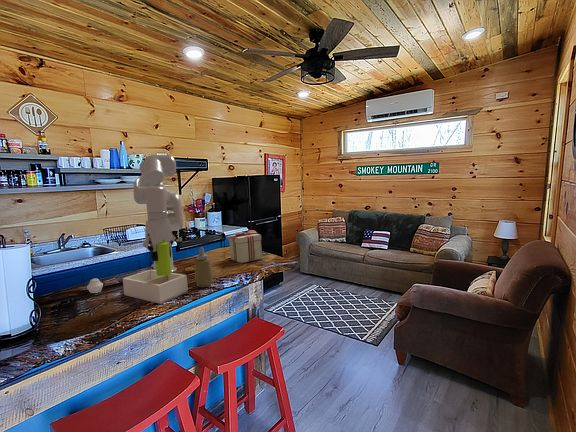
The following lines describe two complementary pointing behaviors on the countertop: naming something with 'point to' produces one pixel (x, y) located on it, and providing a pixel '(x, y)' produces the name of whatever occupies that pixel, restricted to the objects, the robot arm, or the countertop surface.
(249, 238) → the gift box
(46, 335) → the countertop surface
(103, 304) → the countertop surface
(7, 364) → the countertop surface
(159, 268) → the soap dispenser
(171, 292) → the caddy
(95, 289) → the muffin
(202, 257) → the squeeze bottle
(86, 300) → the countertop surface
